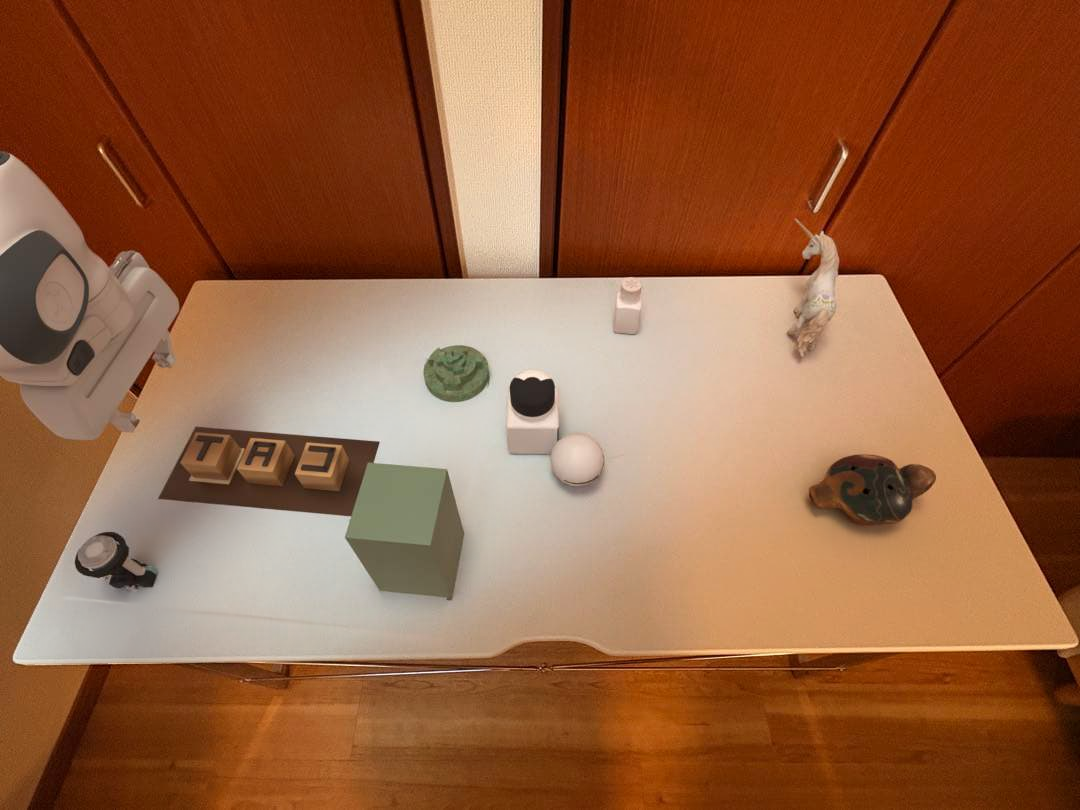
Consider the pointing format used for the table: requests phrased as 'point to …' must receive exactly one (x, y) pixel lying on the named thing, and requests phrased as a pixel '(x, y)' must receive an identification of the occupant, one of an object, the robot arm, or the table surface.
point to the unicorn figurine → (817, 291)
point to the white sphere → (577, 459)
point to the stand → (407, 529)
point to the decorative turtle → (871, 488)
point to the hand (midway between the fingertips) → (150, 394)
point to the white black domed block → (532, 413)
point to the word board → (272, 496)
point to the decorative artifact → (456, 373)
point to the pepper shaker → (628, 306)
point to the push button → (113, 562)
